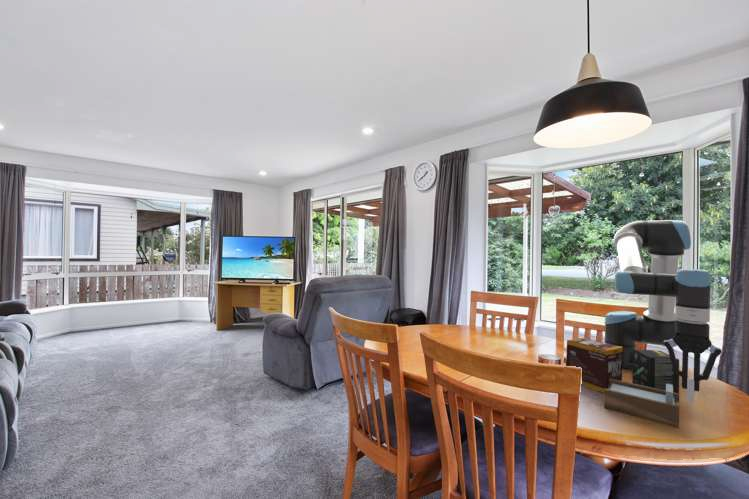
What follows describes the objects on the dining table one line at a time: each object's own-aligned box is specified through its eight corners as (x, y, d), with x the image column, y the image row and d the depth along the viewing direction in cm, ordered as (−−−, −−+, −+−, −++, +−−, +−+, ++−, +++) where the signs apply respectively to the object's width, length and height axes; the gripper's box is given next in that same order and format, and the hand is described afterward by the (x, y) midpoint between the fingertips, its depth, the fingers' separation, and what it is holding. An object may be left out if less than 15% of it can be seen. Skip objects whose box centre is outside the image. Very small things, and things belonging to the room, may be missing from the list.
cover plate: (612, 386, 118) (612, 371, 118) (674, 400, 108) (674, 384, 108) (608, 395, 111) (609, 379, 111) (674, 411, 101) (674, 394, 101)
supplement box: (606, 394, 122) (607, 350, 121) (565, 379, 135) (566, 339, 135) (623, 389, 126) (624, 346, 126) (581, 375, 140) (582, 336, 140)
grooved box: (609, 395, 120) (609, 378, 120) (677, 412, 109) (678, 393, 109) (604, 408, 110) (604, 389, 110) (678, 428, 99) (679, 407, 99)
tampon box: (679, 402, 116) (680, 359, 116) (648, 399, 118) (649, 356, 118) (659, 389, 127) (660, 349, 126) (631, 387, 128) (632, 347, 128)
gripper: (663, 319, 103) (661, 398, 103) (724, 326, 95) (722, 412, 95) (663, 316, 109) (661, 390, 109) (721, 322, 101) (719, 403, 101)
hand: (690, 400), depth 102 cm, fingers closed
